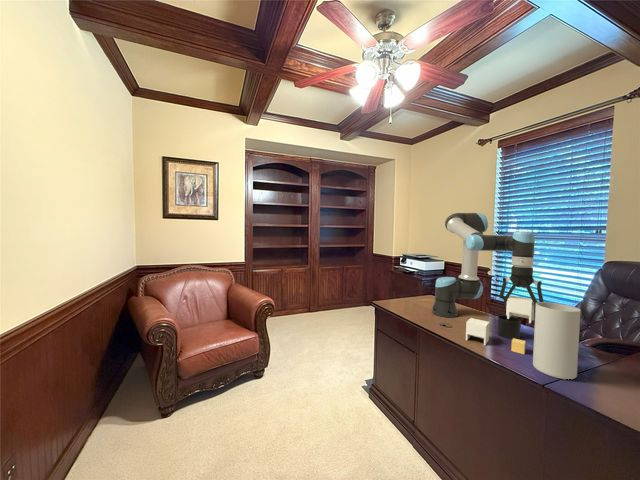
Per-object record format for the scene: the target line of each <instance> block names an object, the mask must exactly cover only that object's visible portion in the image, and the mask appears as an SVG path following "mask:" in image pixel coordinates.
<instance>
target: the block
mask: <svg viewBox="0 0 640 480" xmlns="http://www.w3.org/2000/svg"><path fill="white" fill-rule="evenodd" d="M526 342H527V341H526V340H524V339H523V340H522V339H520V338H519V339H514V338H513V339H511V348H510V349H511V350H510V351H511V352H514V353H518V354H521V355H525V353H526V344H527V343H526Z"/></svg>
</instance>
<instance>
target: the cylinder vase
mask: <svg viewBox="0 0 640 480" xmlns="http://www.w3.org/2000/svg"><path fill="white" fill-rule="evenodd" d="M580 323H581V309H580V308H578V307H575V306H573V305H567V304H564V303H563V304H562V303H559V302H551V301H549V302H548V301H544V302H539V301H537V303H536V309H535V312H534V332H533V333H534V336H533V350H532V351H533V352H532V353H533V354H532V365H533V368H535V370H537V371H538V372H540V373H542V374H545V375H547V376H549V377H551V378H556V379H560V380H566V379H568V380H569V379H571V380H574V379H576V378H577V377H578V363H579V359H578V358H579V344H580V327H581V325H580ZM568 380H567V381H568ZM569 381H570V380H569Z"/></svg>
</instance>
